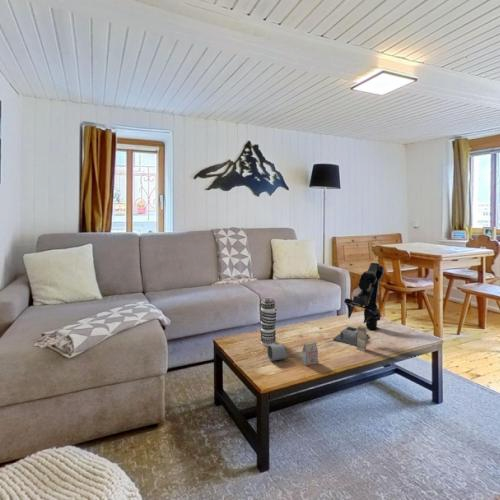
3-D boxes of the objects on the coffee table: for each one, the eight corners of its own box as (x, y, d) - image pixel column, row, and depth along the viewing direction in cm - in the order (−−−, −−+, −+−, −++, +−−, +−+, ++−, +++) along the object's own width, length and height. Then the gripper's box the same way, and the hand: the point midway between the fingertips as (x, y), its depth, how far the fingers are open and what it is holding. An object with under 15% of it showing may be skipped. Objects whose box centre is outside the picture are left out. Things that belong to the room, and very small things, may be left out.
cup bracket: (345, 330, 202) (345, 322, 201) (368, 336, 193) (369, 327, 192) (333, 340, 188) (333, 331, 187) (357, 346, 179) (358, 336, 178)
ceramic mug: (287, 361, 163) (287, 346, 162) (272, 363, 160) (272, 348, 159) (279, 352, 173) (279, 338, 172) (264, 355, 170) (264, 340, 169)
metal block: (359, 347, 178) (360, 324, 177) (366, 348, 176) (366, 326, 175) (356, 349, 176) (357, 326, 174) (363, 351, 173) (364, 328, 172)
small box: (301, 362, 161) (302, 343, 160) (313, 360, 164) (313, 340, 162) (305, 366, 158) (306, 346, 156) (317, 363, 160) (318, 343, 159)
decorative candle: (262, 338, 191) (262, 296, 188) (278, 340, 188) (278, 297, 185) (257, 344, 182) (257, 300, 179) (273, 346, 179) (274, 302, 176)
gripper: (344, 285, 186) (335, 311, 184) (376, 294, 173) (366, 322, 171) (352, 291, 194) (343, 316, 192) (383, 300, 181) (374, 327, 178)
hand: (356, 320), depth 183 cm, fingers open, 9 cm apart
